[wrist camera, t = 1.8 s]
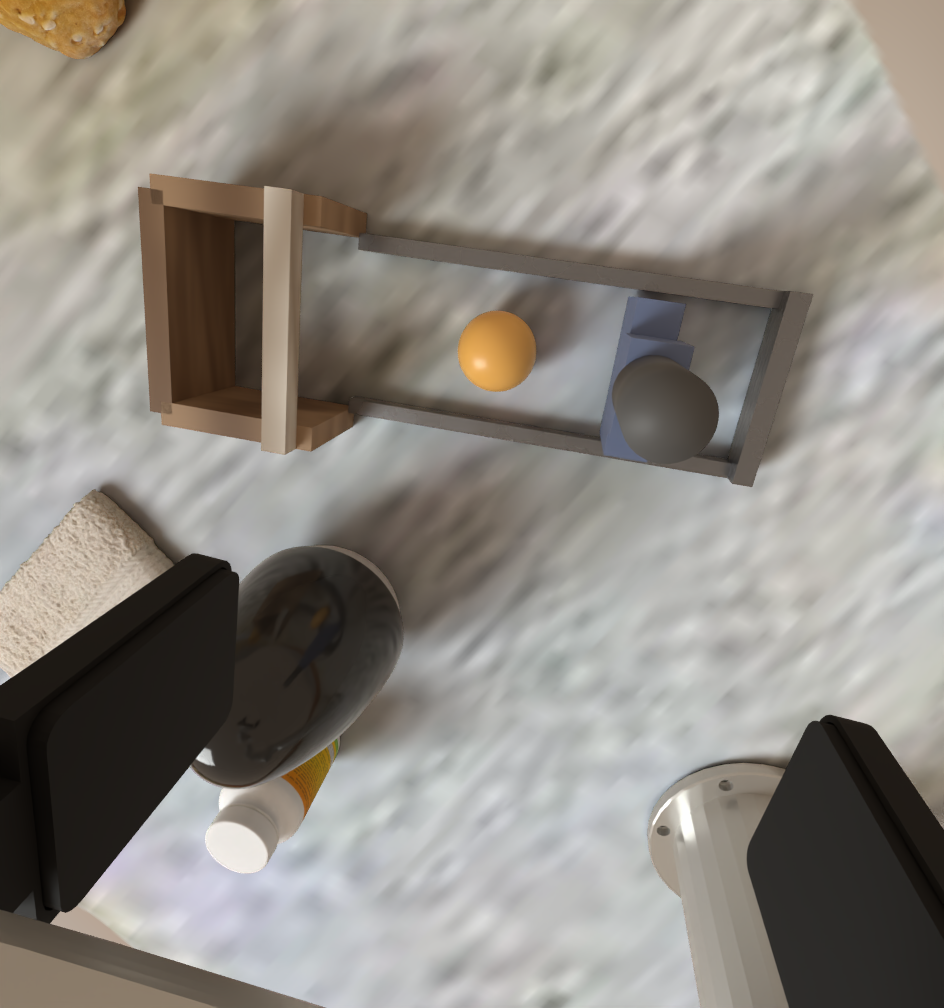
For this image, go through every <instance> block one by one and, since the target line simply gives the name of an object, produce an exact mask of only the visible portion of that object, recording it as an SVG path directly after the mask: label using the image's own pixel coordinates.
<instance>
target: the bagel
mask: <svg viewBox="0 0 944 1008" xmlns="http://www.w3.org/2000/svg"><path fill="white" fill-rule="evenodd" d="M124 2H125V1H124V0H0V23H1V24H2V25H4V26H5V27H7V28H8V29H10V30H13V31H15V32H18V33H21V34H23V35H25V36H28V37H30V38H32V39H33V40H34V41H36V42H38V43H40V44H42V45H44V46H47V47H49V48H51V49H53V50H56V51H60V52H61V53H63V54H64V55H66V56H68V57H72V58H75V59H85V58H89V57H91V56H92V55H93V54H95V53H96V52H98V51H99V50H100V49H101V47H102V46H104V45H105V44H106V43H107V41H108V39H109V38H110V37H112V36H113V35H114V33H115V32H116V30H117V28H118V26H120V25H122V24H123V21H124V19H125V15H126V8H125V5H124Z"/></svg>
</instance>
